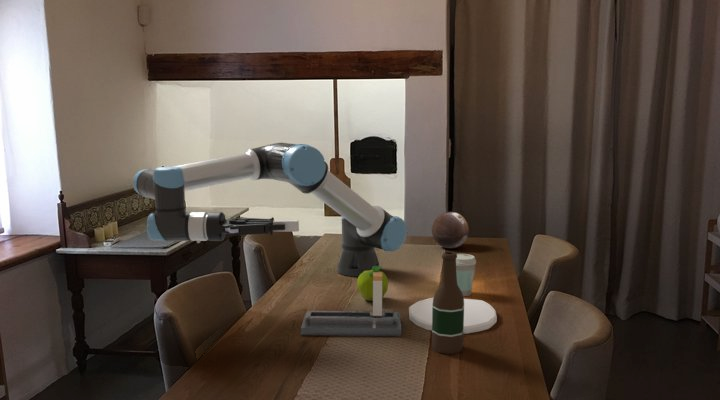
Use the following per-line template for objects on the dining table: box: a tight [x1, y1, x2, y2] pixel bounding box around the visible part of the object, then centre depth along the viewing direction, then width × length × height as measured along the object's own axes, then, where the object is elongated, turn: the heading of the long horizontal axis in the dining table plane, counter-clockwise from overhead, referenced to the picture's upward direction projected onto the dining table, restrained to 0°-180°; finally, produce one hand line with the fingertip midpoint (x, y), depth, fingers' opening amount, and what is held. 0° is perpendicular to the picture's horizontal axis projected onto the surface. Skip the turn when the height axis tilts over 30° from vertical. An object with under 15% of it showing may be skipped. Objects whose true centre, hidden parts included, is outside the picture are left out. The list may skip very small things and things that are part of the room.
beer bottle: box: [431, 251, 465, 355], centre depth 154 cm, size 8×8×24 cm
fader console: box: [300, 310, 403, 337], centre depth 170 cm, size 26×12×4 cm, turn 89°
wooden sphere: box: [431, 211, 470, 249], centre depth 261 cm, size 15×15×15 cm
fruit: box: [356, 265, 389, 302], centre depth 193 cm, size 9×9×10 cm
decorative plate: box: [408, 296, 498, 335], centre depth 178 cm, size 25×4×25 cm
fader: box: [370, 271, 385, 317], centre depth 169 cm, size 4×4×12 cm
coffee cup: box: [456, 253, 477, 297], centre depth 199 cm, size 8×8×12 cm
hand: (298, 225), depth 166 cm, fingers closed
